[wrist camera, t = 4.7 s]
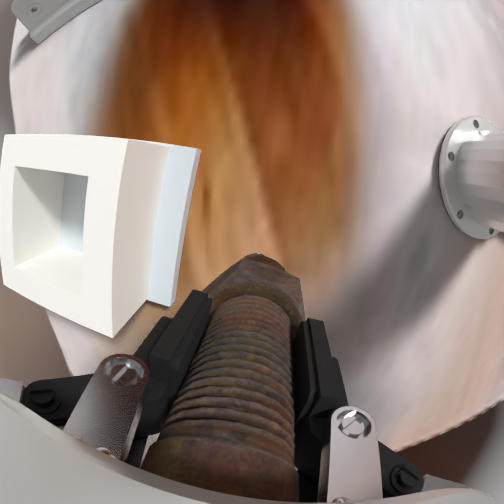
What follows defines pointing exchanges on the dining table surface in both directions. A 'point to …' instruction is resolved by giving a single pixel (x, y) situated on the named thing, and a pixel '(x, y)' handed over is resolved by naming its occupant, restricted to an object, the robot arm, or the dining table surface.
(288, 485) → the bolt
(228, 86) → the dining table surface
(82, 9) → the grey arched bracket
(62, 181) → the socket post
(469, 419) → the dining table surface
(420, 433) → the dining table surface
